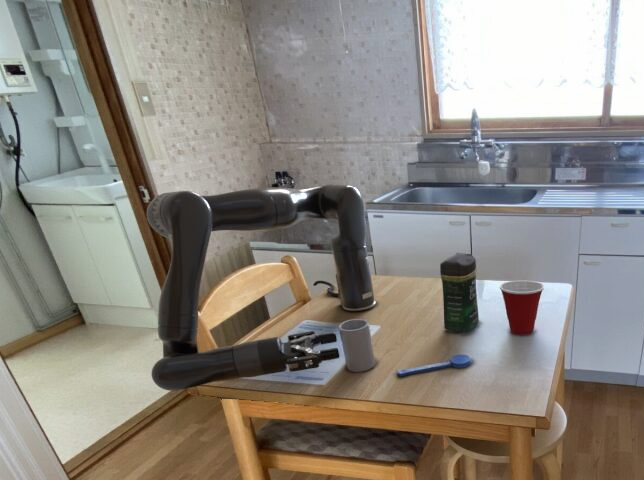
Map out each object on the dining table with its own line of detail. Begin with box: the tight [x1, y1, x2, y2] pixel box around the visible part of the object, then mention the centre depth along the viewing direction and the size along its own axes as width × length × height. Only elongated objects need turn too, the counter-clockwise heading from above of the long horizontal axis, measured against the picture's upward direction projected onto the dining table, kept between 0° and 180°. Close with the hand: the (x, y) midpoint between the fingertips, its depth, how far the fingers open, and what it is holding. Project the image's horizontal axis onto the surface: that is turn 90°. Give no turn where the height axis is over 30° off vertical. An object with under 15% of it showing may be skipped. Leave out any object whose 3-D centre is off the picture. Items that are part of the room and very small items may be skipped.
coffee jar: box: [439, 252, 480, 334], centre depth 129 cm, size 10×8×19 cm
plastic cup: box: [499, 279, 545, 336], centre depth 127 cm, size 11×11×12 cm
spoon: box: [396, 353, 472, 377], centre depth 115 cm, size 17×5×1 cm, turn 108°
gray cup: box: [338, 318, 376, 373], centre depth 115 cm, size 6×6×10 cm
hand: (337, 344), depth 114 cm, fingers open, 8 cm apart
